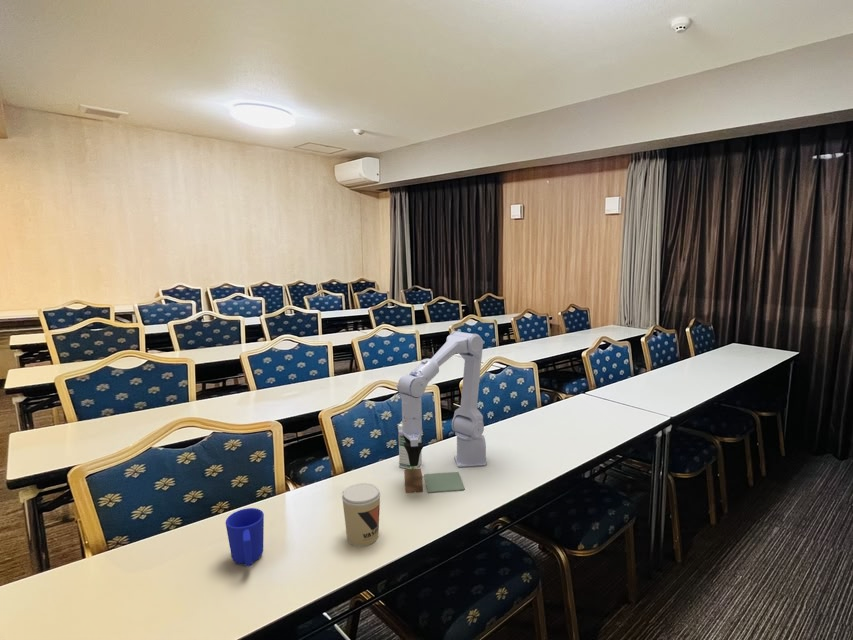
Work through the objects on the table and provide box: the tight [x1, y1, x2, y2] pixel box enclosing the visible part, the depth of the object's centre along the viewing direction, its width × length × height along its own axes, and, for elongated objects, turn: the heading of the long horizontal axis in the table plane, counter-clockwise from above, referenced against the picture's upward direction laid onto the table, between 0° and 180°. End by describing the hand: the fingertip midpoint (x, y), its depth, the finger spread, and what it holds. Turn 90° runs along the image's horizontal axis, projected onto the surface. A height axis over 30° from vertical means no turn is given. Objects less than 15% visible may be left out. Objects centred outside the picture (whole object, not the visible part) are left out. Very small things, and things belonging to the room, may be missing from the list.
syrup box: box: [397, 422, 423, 469], centre depth 152 cm, size 6×6×14 cm
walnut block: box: [403, 468, 424, 494], centre depth 138 cm, size 5×5×5 cm
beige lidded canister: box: [341, 482, 381, 547], centre depth 115 cm, size 9×9×12 cm
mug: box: [225, 507, 265, 567], centre depth 106 cm, size 8×12×10 cm
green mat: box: [423, 471, 466, 494], centre depth 142 cm, size 11×11×1 cm
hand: (412, 459), depth 137 cm, fingers open, 7 cm apart
